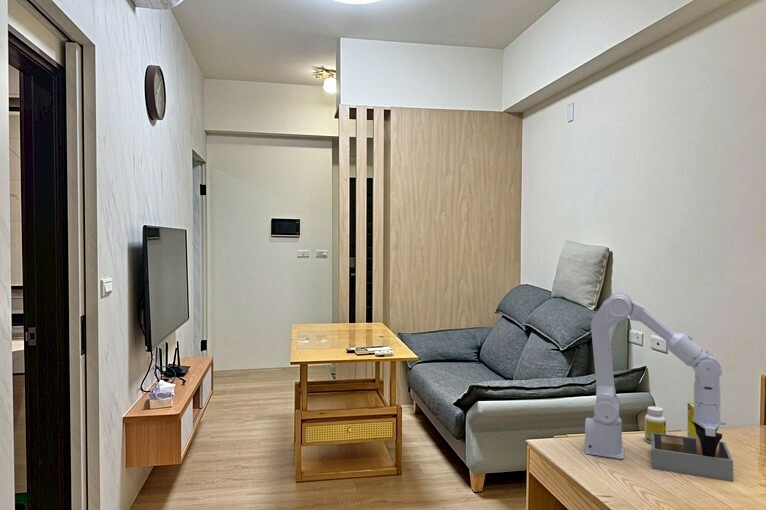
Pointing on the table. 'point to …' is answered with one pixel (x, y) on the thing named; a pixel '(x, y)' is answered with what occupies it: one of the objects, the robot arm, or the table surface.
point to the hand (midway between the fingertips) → (707, 455)
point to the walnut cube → (672, 444)
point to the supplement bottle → (654, 422)
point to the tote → (692, 459)
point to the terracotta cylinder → (699, 449)
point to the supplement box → (691, 421)
